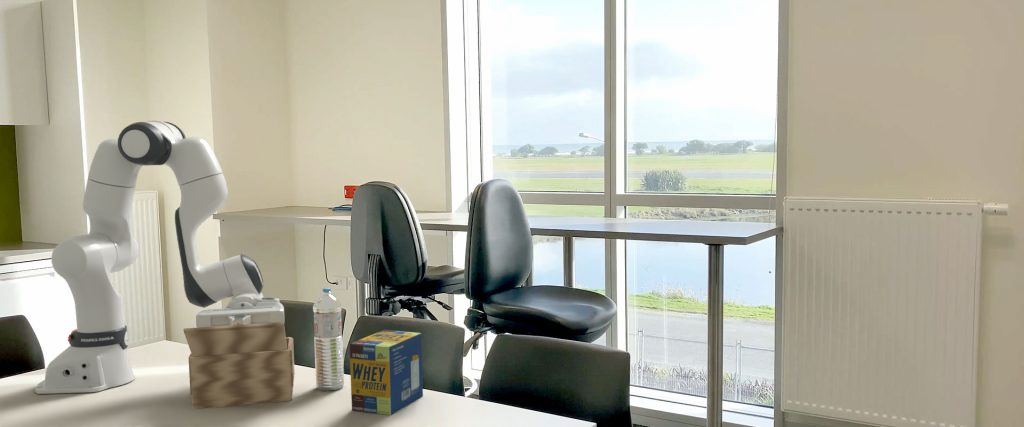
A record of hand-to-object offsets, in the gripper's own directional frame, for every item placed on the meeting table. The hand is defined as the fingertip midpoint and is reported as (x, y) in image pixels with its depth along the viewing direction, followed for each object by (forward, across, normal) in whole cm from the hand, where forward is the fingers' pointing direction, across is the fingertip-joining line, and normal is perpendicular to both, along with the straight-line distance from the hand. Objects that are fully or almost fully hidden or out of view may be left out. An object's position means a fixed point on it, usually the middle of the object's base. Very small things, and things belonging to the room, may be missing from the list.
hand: (238, 323), depth 183 cm
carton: (-6, 0, +19) cm, 20 cm away
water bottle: (-7, +20, +19) cm, 29 cm away
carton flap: (+6, 0, +2) cm, 7 cm away
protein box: (+10, +34, +19) cm, 40 cm away
